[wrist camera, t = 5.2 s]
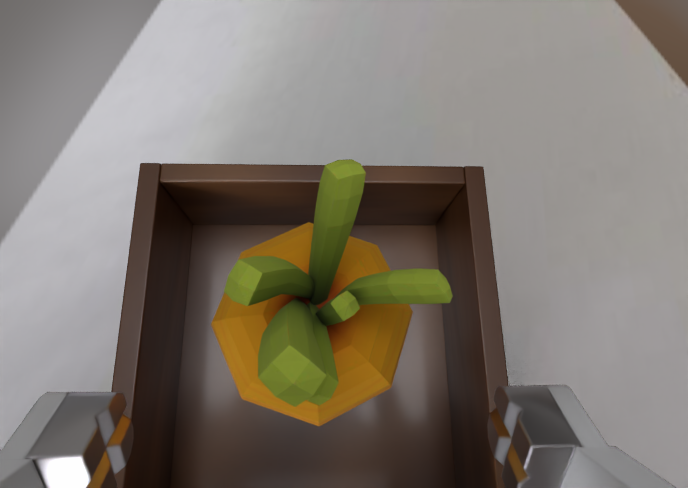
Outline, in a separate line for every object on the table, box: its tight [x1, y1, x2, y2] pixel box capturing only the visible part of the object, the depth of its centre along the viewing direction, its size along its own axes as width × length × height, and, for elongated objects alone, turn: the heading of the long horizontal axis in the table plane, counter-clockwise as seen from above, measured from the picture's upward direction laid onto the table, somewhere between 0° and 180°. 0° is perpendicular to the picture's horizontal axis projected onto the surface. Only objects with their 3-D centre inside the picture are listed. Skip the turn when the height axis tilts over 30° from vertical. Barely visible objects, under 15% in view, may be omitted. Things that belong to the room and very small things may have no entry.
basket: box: [111, 163, 508, 488], centre depth 19 cm, size 14×14×6 cm
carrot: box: [211, 159, 453, 426], centre depth 14 cm, size 5×5×15 cm
